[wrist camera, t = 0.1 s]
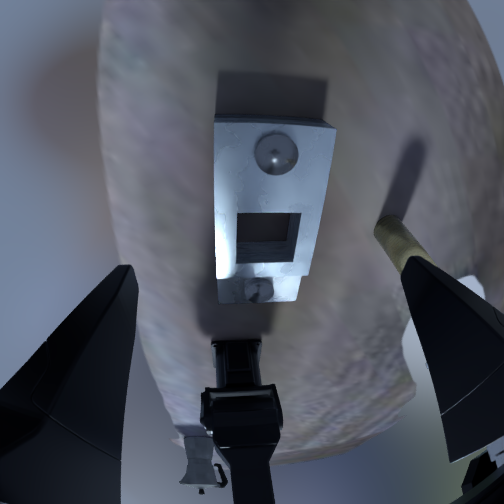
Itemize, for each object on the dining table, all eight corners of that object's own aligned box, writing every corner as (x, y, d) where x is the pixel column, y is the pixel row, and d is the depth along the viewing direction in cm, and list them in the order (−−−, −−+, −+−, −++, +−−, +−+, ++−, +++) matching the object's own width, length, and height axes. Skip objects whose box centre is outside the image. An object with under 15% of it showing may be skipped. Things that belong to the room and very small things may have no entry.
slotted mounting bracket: (292, 290, 30) (300, 315, 28) (218, 293, 30) (218, 320, 27) (322, 119, 19) (340, 131, 17) (214, 114, 18) (213, 124, 16)
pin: (394, 241, 28) (431, 294, 21) (370, 241, 27) (405, 298, 21) (403, 215, 26) (446, 267, 20) (378, 214, 25) (420, 269, 19)
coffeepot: (171, 438, 67) (172, 493, 53) (185, 433, 63) (188, 493, 49) (215, 445, 74) (219, 495, 60) (232, 439, 70) (238, 493, 56)
